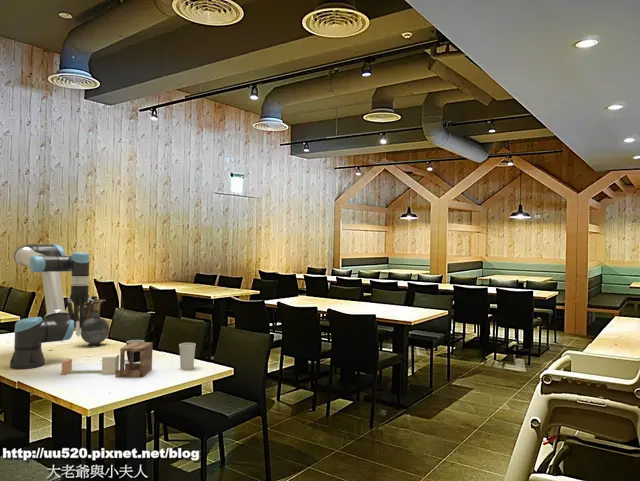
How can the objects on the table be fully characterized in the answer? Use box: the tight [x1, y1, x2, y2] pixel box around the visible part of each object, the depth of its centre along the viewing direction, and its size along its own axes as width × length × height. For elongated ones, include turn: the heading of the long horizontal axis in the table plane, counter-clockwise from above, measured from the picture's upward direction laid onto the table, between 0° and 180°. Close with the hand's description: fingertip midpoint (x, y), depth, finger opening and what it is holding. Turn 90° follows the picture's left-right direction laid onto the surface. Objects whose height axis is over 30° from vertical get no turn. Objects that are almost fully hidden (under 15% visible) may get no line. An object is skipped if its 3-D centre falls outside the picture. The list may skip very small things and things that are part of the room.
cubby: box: [114, 341, 153, 378], centre depth 240 cm, size 12×15×13 cm
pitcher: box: [77, 295, 110, 348], centre depth 301 cm, size 11×19×30 cm, turn 140°
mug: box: [125, 339, 145, 363], centre depth 266 cm, size 12×9×10 cm
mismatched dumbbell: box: [61, 353, 120, 376], centre depth 239 cm, size 24×6×8 cm, turn 97°
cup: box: [178, 342, 197, 371], centre depth 251 cm, size 8×8×12 cm
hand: (78, 334), depth 238 cm, fingers closed
